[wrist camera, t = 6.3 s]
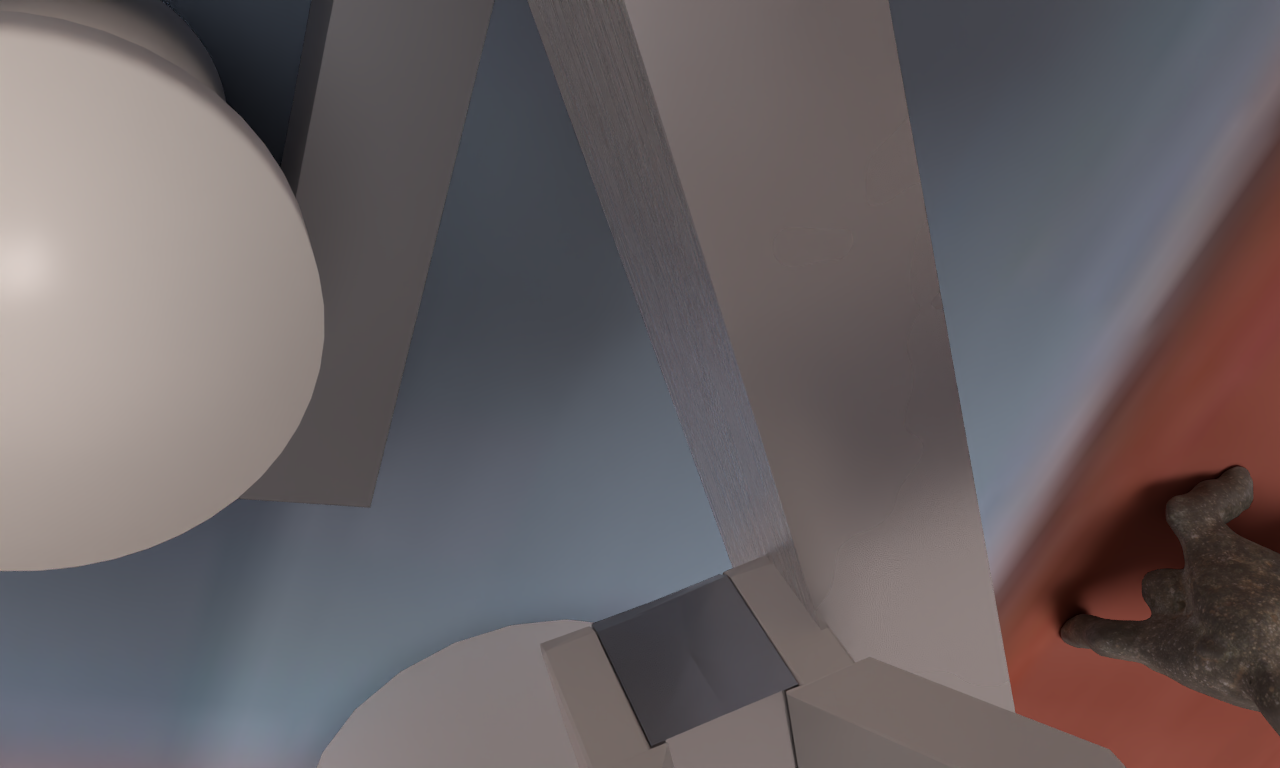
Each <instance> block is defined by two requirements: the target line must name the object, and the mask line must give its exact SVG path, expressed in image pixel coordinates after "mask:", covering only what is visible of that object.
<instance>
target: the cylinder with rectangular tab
mask: <svg viewBox="0 0 1280 768" xmlns="http://www.w3.org/2000/svg"><path fill="white" fill-rule="evenodd" d="M591 624H592V622H584V621H576V620H568V619H566V620H556V621H547V622H537V623H528V624H518V625H510V626H507V627H504V628H501V629H497V630H494V631H491V632H488V633H485V634H481V635H478V636H475V637H472V638H469V639H466V640H462V641H459V642H456V643H453V644H451V645H449V646H448V647H446V648H444V649H442V650H440V651H438V652H437V653H435V654H433V655H431V656H429V657H427V658H425V659H424V660H422V661H420V662H418V663H416V664H414V665H412V666H411V667H409V668H407V669H405V670H403V671H401V672H400V673H399V674H397V675H396V676H395V677H394V678H393V679H391V680H390V681H389V682H388V683H386V684H385V685H384V686H383V687H382V688H380V689H379V690H378V691H377V692H376V693H374V694H373V695H372V696H371V697H370V698H368V699H367V700H366V701H365V702H364V703H362V704H361V705H360V706H359V707H358V708H356V709H355V711H354V712H353V713H352V714H351V716H350V717H349V718H348V720H347V721H346V722H345V724H344V725H343V726H342V728H341V729H340V730H339V732H338V733H337V734H336V736H335V737H334V738H333V739H332V741H331V742H330V743H329V745H328V746H327V747H326V749H325V750H324V751H323V753H322V756H321V758H320V761H319V764H318V766H317V768H579V766H578V763H577V760H576V757H575V754H574V751H573V748H572V745H571V742H570V740H569V737H568V734H567V731H566V728H565V725H564V722H563V719H562V716H561V712H560V709H559V706H558V703H557V700H556V697H555V694H554V691H553V688H552V684H551V681H550V678H549V675H548V672H547V669H546V666H545V663H544V660H543V656H542V653H541V648H540V644H541V643H543V642H546V641H549V640H552V639H555V638H557V637H560V636H563V635H566V634H568V633H571V632H574V631H577V630H580V629H582V628H585V627H588V626H590V627H591Z"/></svg>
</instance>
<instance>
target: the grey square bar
mask: <svg viewBox="0 0 1280 768" xmlns="http://www.w3.org/2000/svg"><path fill="white" fill-rule="evenodd" d="M527 1H528V4H529V6H530V9H531V12H532V15H533V17H534V20H535V23H536V26H537V28H538V31H539V34H540V37H541V39H542V42H543V45H544V48H545V51H546V53H547V56H548V59H549V62H550V64H551V67H552V70H553V73H554V75H555V78H556V81H557V84H558V86H559V89H560V92H561V95H562V97H563V100H564V103H565V106H566V108H567V111H568V114H569V117H570V120H571V122H572V125H573V128H574V131H575V133H576V136H577V139H578V142H579V144H580V147H581V150H582V153H583V155H584V158H585V161H586V164H587V166H588V169H589V172H590V175H591V178H592V180H593V183H594V186H595V189H596V191H597V194H598V197H599V200H600V202H601V205H602V208H603V211H604V213H605V216H606V219H607V222H608V224H609V227H610V230H611V233H612V236H613V238H614V241H615V244H616V247H617V249H618V252H619V255H620V258H621V260H622V263H623V266H624V269H625V271H626V274H627V277H628V280H629V282H630V285H631V288H632V291H633V293H634V296H635V299H636V302H637V305H638V307H639V310H640V313H641V316H642V318H643V321H644V324H645V327H646V329H647V332H648V335H649V338H650V340H651V343H652V346H653V349H654V351H655V354H656V357H657V360H658V363H659V365H660V368H661V371H662V374H663V376H664V379H665V382H666V385H667V387H668V390H669V393H670V396H671V398H672V401H673V404H674V407H675V409H676V412H677V415H678V418H679V420H680V423H681V426H682V429H683V432H684V434H685V437H686V440H687V443H688V445H689V448H690V451H691V454H692V456H693V459H694V462H695V465H696V467H697V470H698V473H699V476H700V478H701V481H702V484H703V487H704V490H705V492H706V495H707V498H708V501H709V503H710V506H711V509H712V512H713V514H714V517H715V520H716V523H717V525H718V528H719V531H720V534H721V536H722V539H723V542H724V545H725V547H726V550H727V553H728V556H729V559H730V561H731V564H732V567H733V568H735V567H737V566H740V565H742V564H744V563H747V562H749V561H752V560H754V559H757V558H759V557H761V556H764V555H765V556H766V557H767V558H768V559H769V560H770V561H771V562H772V563H773V564H774V566H775V567H776V568H777V570H778V571H779V573H780V574H781V575H782V577H783V578H784V579H785V581H786V582H787V584H788V585H789V586H790V588H791V589H792V591H793V592H794V593H795V595H796V596H797V597H798V599H799V600H800V602H801V603H802V604H803V606H804V607H805V609H806V610H807V611H808V613H809V614H810V616H811V617H812V618H813V620H814V621H815V622H816V624H817V625H818V627H819V628H820V629H821V630H823V629H826V628H829V629H831V630H832V631H833V633H834V634H835V635H836V637H837V638H838V639H839V641H840V642H841V643H842V645H843V646H844V647H845V649H846V650H847V651H848V653H849V654H850V656H851V657H852V658H853V660H854V661H855V662H858V661H861V660H863V659H866V658H868V657H871V658H874V659H877V660H879V661H882V662H884V663H887V664H890V665H892V666H895V667H897V668H900V669H902V670H905V671H908V672H910V673H913V674H915V675H918V676H921V677H923V678H926V679H928V680H931V681H933V682H936V683H939V684H941V685H944V686H946V687H949V688H952V689H954V690H957V691H959V692H962V693H964V694H967V695H970V696H972V697H975V698H977V699H980V700H982V701H985V702H988V703H990V704H993V705H995V706H998V707H1001V708H1003V709H1006V710H1008V711H1011V712H1013V713H1015V708H1014V703H1013V697H1012V691H1011V686H1010V680H1009V675H1008V669H1007V663H1006V658H1005V652H1004V647H1003V641H1002V635H1001V630H1000V624H999V618H998V613H997V607H996V602H995V596H994V590H993V585H992V579H991V574H990V568H989V562H988V557H987V551H986V546H985V540H984V534H983V529H982V523H981V517H980V512H979V506H978V501H977V495H976V489H975V484H974V478H973V473H972V467H971V461H970V456H969V450H968V445H967V439H966V433H965V428H964V422H963V416H962V411H961V405H960V400H959V394H958V388H957V383H956V377H955V372H954V366H953V360H952V355H951V349H950V344H949V338H948V332H947V327H946V321H945V316H944V310H943V304H942V299H941V293H940V287H939V282H938V276H937V271H936V265H935V259H934V254H933V248H932V243H931V237H930V231H929V226H928V220H927V215H926V209H925V203H924V198H923V192H922V186H921V181H920V175H919V170H918V164H917V158H916V153H915V147H914V142H913V136H912V130H911V125H910V119H909V114H908V108H907V102H906V97H905V91H904V86H903V80H902V74H901V69H900V63H899V57H898V52H897V46H896V41H895V35H894V29H893V24H892V18H891V13H890V7H889V1H888V0H527Z"/></svg>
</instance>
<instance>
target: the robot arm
mask: <svg viewBox="0 0 1280 768" xmlns="http://www.w3.org/2000/svg"><path fill="white" fill-rule="evenodd" d="M540 648H541V653H542V656H543V660H544V663H545V666H546V669H547V672H548V675H549V678H550V681H551V684H552V688H553V691H554V694H555V697H556V700H557V703H558V706H559V709H560V712H561V716H562V719H563V722H564V725H565V728H566V731H567V734H568V737H569V740H570V742H571V745H572V748H573V751H574V754H575V757H576V760H577V763H578V766H579V768H1126V767H1125V766H1124V765H1123V764H1122V763H1121V761H1120V760H1119V759H1118V758H1117V757H1116V756H1115V755H1114V754H1113V753H1112V752H1111V751H1110V750H1109V749H1106V748H1104V747H1101V746H1099V745H1096V744H1094V743H1091V742H1088V741H1086V740H1083V739H1081V738H1078V737H1075V736H1073V735H1070V734H1068V733H1065V732H1063V731H1060V730H1057V729H1055V728H1052V727H1050V726H1047V725H1044V724H1042V723H1039V722H1037V721H1034V720H1032V719H1029V718H1026V717H1024V716H1021V715H1019V714H1016V713H1013V712H1011V711H1008V710H1006V709H1003V708H1001V707H998V706H995V705H993V704H990V703H988V702H985V701H982V700H980V699H977V698H975V697H972V696H970V695H967V694H964V693H962V692H959V691H957V690H954V689H952V688H949V687H946V686H944V685H941V684H939V683H936V682H933V681H931V680H928V679H926V678H923V677H921V676H918V675H915V674H913V673H910V672H908V671H905V670H902V669H900V668H897V667H895V666H892V665H890V664H887V663H884V662H882V661H879V660H877V659H874V658H871V657H868V658H866V659H863V660H861V661H858V662H855V661H854V660H853V658H852V657H851V656H850V654H849V653H848V651H847V650H846V649H845V647H844V646H843V645H842V643H841V642H840V641H839V639H838V638H837V637H836V635H835V634H834V633H833V631H832V630H831V629H829V628H826V629H823V630H821V629H820V628H819V627H818V625H817V624H816V622H815V621H814V620H813V618H812V617H811V616H810V614H809V613H808V611H807V610H806V609H805V607H804V606H803V604H802V603H801V602H800V600H799V599H798V597H797V596H796V595H795V593H794V592H793V591H792V589H791V588H790V586H789V585H788V584H787V582H786V581H785V579H784V578H783V577H782V575H781V574H780V573H779V571H778V570H777V568H776V567H775V566H774V564H773V563H772V562H771V561H770V560H769V559H768V558H767V557H766V556H765V555H764V556H761V557H759V558H757V559H754V560H752V561H749V562H747V563H744V564H742V565H740V566H737V567H735V568H732V569H730V570H727V571H725V572H723V574H722V575H721V574H718V575H716V576H713V577H711V578H708V579H706V580H703V581H701V582H699V583H696V584H694V585H691V586H689V587H686V588H684V589H681V590H679V591H676V592H674V593H672V594H669V595H667V596H664V597H662V598H659V599H657V600H654V601H652V602H649V603H646V604H644V605H641V606H638V607H636V608H633V609H630V610H627V611H625V612H622V613H619V614H616V615H614V616H611V617H608V618H606V619H603V620H600V621H597V622H595V623H592V624H591V627H590V626H588V627H585V628H582V629H580V630H577V631H574V632H571V633H568V634H566V635H563V636H560V637H557V638H555V639H552V640H549V641H546V642H543V643H541V644H540Z"/></svg>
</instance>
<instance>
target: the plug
mask: <svg viewBox="0 0 1280 768" xmlns="http://www.w3.org/2000/svg"><path fill="white" fill-rule="evenodd" d="M323 344H324V303H323V297H322V290H321V284H320V278H319V272H318V269H317V265H316V262H315V258H314V254H313V251H312V247H311V243H310V240H309V236H308V233H307V229H306V226H305V223H304V220H303V217H302V214H301V210H300V207H299V204H298V202H297V200H296V198H295V196H294V194H293V191H292V189H291V187H290V185H289V183H288V181H287V179H286V177H285V175H284V173H283V171H282V170H281V168H280V167H279V165H278V164H277V162H276V161H275V159H274V158H273V156H272V154H271V153H270V151H269V150H268V148H267V147H266V145H265V144H264V143H263V142H262V140H261V139H260V138H259V137H258V136H257V135H256V133H255V132H254V131H253V130H252V129H251V128H250V126H249V125H248V124H247V123H246V122H245V120H244V119H243V118H242V117H241V116H240V115H239V114H238V113H237V112H236V111H235V110H233V109H232V108H231V107H230V106H229V105H228V104H227V103H226V99H225V94H224V89H223V86H222V83H221V80H220V77H219V74H218V71H217V69H216V67H215V65H214V63H213V61H212V59H211V57H210V55H209V53H208V52H207V50H206V49H205V47H204V46H203V44H202V42H201V41H200V39H199V38H198V37H197V35H196V34H195V33H194V32H193V31H192V29H191V28H190V27H189V26H188V25H187V23H186V22H185V21H184V20H183V19H182V18H181V17H180V16H178V15H177V14H176V13H175V12H174V11H173V10H172V9H171V8H170V7H169V6H167V5H166V4H165V3H163V2H162V1H161V0H0V571H41V570H51V569H60V568H70V567H78V566H83V565H88V564H93V563H98V562H103V561H108V560H113V559H116V558H119V557H123V556H126V555H129V554H132V553H136V552H139V551H142V550H145V549H148V548H151V547H153V546H155V545H158V544H160V543H162V542H165V541H167V540H170V539H172V538H174V537H177V536H179V535H181V534H183V533H185V532H186V531H188V530H190V529H192V528H194V527H195V526H197V525H199V524H201V523H203V522H204V521H206V520H208V519H210V518H211V517H213V516H214V515H215V514H217V513H218V512H220V511H221V510H222V509H224V508H225V507H226V506H228V505H229V504H231V503H232V502H233V501H235V500H236V499H238V498H239V497H240V496H241V495H242V494H243V493H244V492H245V491H246V490H247V489H248V488H250V487H251V486H252V485H253V484H254V483H255V482H256V481H257V480H258V479H259V478H260V477H261V476H262V475H263V474H264V473H265V472H266V471H267V469H268V468H269V467H270V466H271V465H272V463H273V462H274V461H275V460H276V459H277V458H278V456H279V455H280V454H281V453H282V451H283V450H284V448H285V447H286V445H287V443H288V442H289V440H290V439H291V437H292V436H293V434H294V433H295V431H296V429H297V428H298V426H299V424H300V422H301V420H302V418H303V415H304V413H305V411H306V409H307V407H308V404H309V402H310V400H311V398H312V394H313V391H314V388H315V384H316V381H317V377H318V374H319V370H320V366H321V358H322V351H323Z"/></svg>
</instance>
